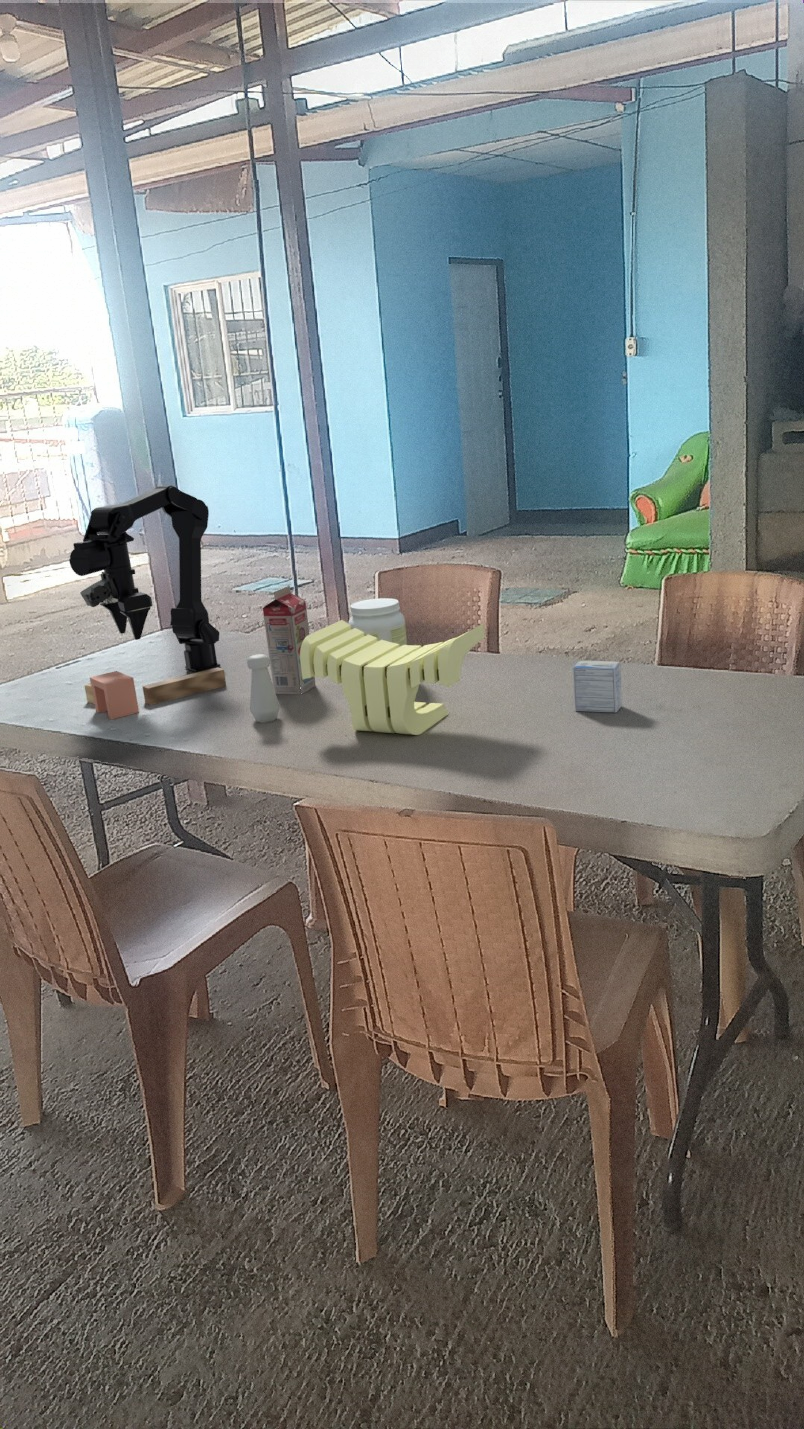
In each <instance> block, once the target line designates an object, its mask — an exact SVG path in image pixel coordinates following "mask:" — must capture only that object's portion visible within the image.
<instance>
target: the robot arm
mask: <svg viewBox="0 0 804 1429" xmlns="http://www.w3.org/2000/svg"><path fill="white" fill-rule="evenodd" d="M160 509H161V510H162V511H163V512H164V513H165V514H166V515H167V516H169V517H170V518H171V525H172V528H173V530H174V532H175V533H176V536H177V537H178V542H179V543H178V544H179V545H178V551H179V552H178V553H179V554H178V555H179V557H178V558H179V559H178V560H179V562H178V564H179V566H178V567H179V568H178V569H179V571H178V572H179V601H178V603H177V605H176V607H172V608H171V609H170V624H169V625H170V627H171V630H172V632H173V634H174V635H175V637H176V639H177V641H178V644H179V645H184V648H185V649H184V651H183V655H184V662H185V663H184V664H185V666H184V668H185V669H186V670H190V671H192V672H194V673H197V672H201V671H205V670H209V669H213V668H217V667H218V668H220V667H221V663H218V660H217V659H218V658H217V654H216V653H217V652H216V646H215V644H216V643H217V642H219V641H220V631H219V630H218V629H216V627H214V626H213V625H212V623H210V619H209V612H208V610H207V608H206V607H205V605H204V603H203V602H202V600H203V599H202V538H203V536H204V534H205V532H206V530H207V528H208V524H209V517H210V516H209V514H210V513H209V507H208V505H207V504H206V503H205V502H204V501H203V500H201V499H198V498H196V496H194V495H191V494H188V493H186V492H183V491H181V490H180V489H179V488H177V487H176V486H174V485H158V486H156V487H154V488H153V489H152V490H149V491H146V492H145V493H142V494H140V495H138V496H136V497H134V498H131V499H129V500H127V501H124V502H122V503H118V504H111V505H104V506H100V507H95V508H93V509H92V510H91V511H90V516H89V521H88V524H87V527H86V531H85V533H84V536H83V539H82V541H81V542H80V541H78V542H74V543H73V550H71V553H70V555H69V560H68V562H69V565H70V567H71V570H72V571H73V572H74V573H75V574H76V575H77V576H80V577H84V576H87V575H90V574H91V575H92V574H95V573H97V572H101V574H100V579H99V580H98V581H96V582H94V583H93V584H91V585H89V586H88V587H86V588H84V589H83V590H82V591H80V595H81V597H82V599H83V601H84V602H85V604H86V605H87V607H88V606H89V607H91V608H95V607H97V606H101V607H103V608H104V609H106V610H108V611H109V613H110V615H111V618H112V619H113V622H114V623H115V626H116V628H117V629H118V632H119V634H121V635H122V634H125V633H126V631H127V623H129V626H130V630H131V632H132V635H133V638H134V640H135V641H137V640H138V641H139V640H141V638H142V635H143V630H144V627H145V624H146V621H147V617H148V614H149V611H151V607H153V606H154V605H153V600H152V597H151V596H150V595H148V594H147V593H144V592H141V591H139V588H138V587H136V586H135V583H134V582H135V581H134V575H136V569H135V568H132V564H131V558H130V552H129V548H128V543H130V542H131V543H132V542H134V540H135V537H133V536H132V535H130V534H128V532H127V531H129V530H130V529H131V528H132V527H133V526H134V524H135V522H136V521H137V520H139V519H141V518H143V517H146V516H147V515H150V514H151V513H154V512H156V511H158V510H160Z"/></svg>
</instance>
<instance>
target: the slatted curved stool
mask: <svg viewBox="0 0 804 1429" xmlns="http://www.w3.org/2000/svg"><path fill="white" fill-rule="evenodd" d="M484 624H485V623H484V622H483V623H481V624H479V625H478V626H476V627H474V628H473V629H471V630H469V631H467V632H464V633H463V634H461V635H459V636H456V637H453V638H450V639H447V640H446V641H440V642H436V643H431V644H430V643H429V644H425V645H423V646H422V645H411V644H407V645H402V646H401V647H400V646H399V644H396V643H392V642H388V641H385V640H380V641H378V640H377V638H376V637H374V636H371V635H369V634H368V635H366V636H364V632H362V631H361V630H359V629H357V628H354V629H352V630H351V625H350V624H348V622H347V621H345V620H343V619H340V620H339V621H338V620H337V621H336V622H334V623H332V624H330V625H327V626H325V627H323V628H321V629H319V630H316V631H314V632H312V633H309V635H308V636H306V638H305V639H304V640H303V642H302V645H301V649H300V662H301V671H302V679H307V678H311V677H313V676H314V677H315V678H323V679H324V678H326V677H328V678H327V679H328V680H330V681H332V682H333V683H335V684H337V685H340V684H341V686H342V692H343V695H344V698H345V700H346V702H347V706H348V707H349V711H350V715H351V721H352V726H353V730H354V731H360V732H361V731H362V732H376V733H388V734H399V735H400V734H402V735H413V736H414V735H415V736H419V735H421V734H423V733H424V732H426V731H427V730H428V729H430V728H431V727H432V726H434V725H435V724H436V723H438V722H439V721H440V720H443V718H445V717H447V715H449V714H450V713H449V711H448V709H447V707H446V705H445V704H444V703H439V702H438V703H437V702H429V704H427V702H420V701H416V696H417V693H418V690H419V688H420V685H421V684H423V683H425V684H437V683H438V682H439V685H440V686H445V687H447V688H452V686H455V685H456V684H458V682H461V672H462V665H463V662H464V659H465V658H466V656H467V654H468V653H469V652H470V650H471V649H473V648H474V647H475V645H477V644H479V643H480V642H481V641H482V640H484V639H485V625H484Z"/></svg>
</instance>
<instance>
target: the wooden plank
mask: <svg viewBox="0 0 804 1429" xmlns="http://www.w3.org/2000/svg"><path fill="white" fill-rule="evenodd" d="M226 683H227V681H226V675H225V669H224V668H220V667H216V668H212V669H208V670H204V671H200V672H194V673H190V674H185V675H181V676H178V677H174V678H170V679H165V680H162V681H158V682H153V683H150V684H149V683H148V684H145V685H142V692H143V696H144V698H143V699H144V703H145V704H147V705H150V706H153V705H156V704H160V703H164V702H169V701H172V700H175V699H176V700H177V699H180V698H184V697H188V696H190V695H195V694H200V693H203V692H207V691H211V690H215V689H219V688H222V687H226V686H227V684H226Z"/></svg>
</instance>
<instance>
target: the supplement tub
mask: <svg viewBox="0 0 804 1429" xmlns="http://www.w3.org/2000/svg"><path fill="white" fill-rule="evenodd" d="M349 608H350V615H351V617H350V618H349V620H348V622H347V623H348V624H350V625H351V630H352V629H354V628H357V629H359V630H361V631H362V632H364V636H366V635H368V634H369V635H371V636H374V637H376V638H377V640H378V641H380V640H385V641H388V642H392V643H396V644H399V646H400V647H401V646H402V645H408V642H407V641H408V640H407V631H406V630H407V629H406V620H405V616H404V615H403V613H401V611H400V610H401V606H400V602H399V600H398V599H396V598H387V597H382V598H381V597H380V598H371V599H365V600H358V601H356V602H354V603H351V604H350V606H349Z"/></svg>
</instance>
